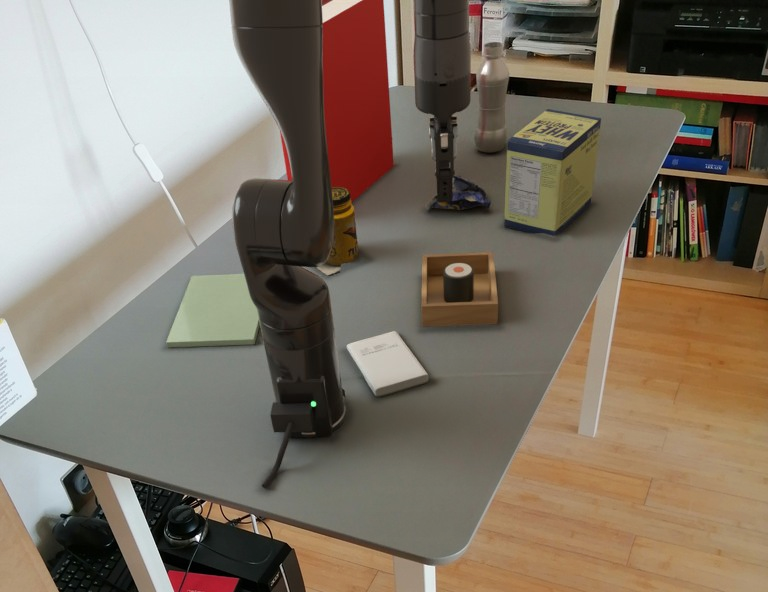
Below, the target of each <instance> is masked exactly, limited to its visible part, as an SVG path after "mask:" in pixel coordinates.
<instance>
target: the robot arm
mask: <svg viewBox="0 0 768 592" xmlns="http://www.w3.org/2000/svg"><path fill="white" fill-rule="evenodd" d="M228 2H229V13H230V25H231V26H230V27H231V35H232V40H233V41H232V42H233V46H234V49H235V51H236V55H237V57H238V59H239V61H240V63H241V65H242V67H243V69H244V71H245V73H246V74H247V77H248V78H249V81H251V83H252V84H253V86H254V88H255V89H256V92H257V93H258V95H259V96H260V98H261V100H262V101H263V103H264V104H265V106H266V108H267V109H268V110H269V112H270V114H271V116H272V118H273V119H274V121H275V123H276V125H277V127H278V129H279V133H280V132H281V134H282V137H283V140H284V143H285V146H286V149H287V153H288V158H289V163H290V168H291V175H292V181H291V180H288V179H274V178H273V179H272V178H256V177H255V178H249V179H246V180H244V181H243V182H241V184H239V186H238V188H237V189H236V191H235V194H234V197H233V200H232V201H233V202H232V207H231V208H232V209H231V221H232V222H231V225H232V231H233V237H234V242H235V246H236V251H237V254H238V258H239V261H240V264H241V267H242V271H243V272H242V273H243V274H244V275H245V279H246V283H247V287H248V291H249V295H250V298H251V300H252V302H253V304H254V305H255V307H256V308H257V313H258V317H259V322H260V326H259V328H260V331H261V336H262V341H263V346H264V351H265V356H266V360H267V365H268V370H269V375H270V380H271V384H272V389H273V395H274V399H275V402H272V405H271V409H270V414H269V415H270V421H271V425H272V430H273V433H284V435H283V438H282V441H281V444H280V447H279V450H278V452H277V456H276V459H275V462H274V465H273V467H272V469H271V471H270V472H269V474H268V476H267V477H266V478H265V479H264V481H263V482H262V483H261V487H262V488H263V489H267V488H268V487H269V486H270V484H271V483H272V482H273V480H274V479H275V478H276V476H277V474H278V472H279V470H280V468H281V466H282V463H283V459H284V456H285V454H286V450H287V447H288V444H289V441H290V439H292V438H323V437H325V438H326V437H332V436H333V432H334V431H336V430H337V428H339V427H340V426H341V425H342V424H343V422H344V421H345V419H346V415H347V408H346V403H345V399H344V398H347V396H346V390H345V389H344V388H343V385H342V377H341V370H340V362H339V354H338V347H337V341H336V332H335V326H334V325H335V323H334V316H333V307H332V300H331V294H330V289H329V286H328V284H327V282H326V281H325V280H324V279H323V278H322V277H320V276H319V274H316V273H314V272H312V271H310V270H308V269H307V268H317V267H319V266H321V265H323V264H324V263H325V262H326V261H327V259H328V258H329V255H330V253H331V249H332V245H333V237H334V209H333V197H332V187H331V177H330V168H329V158H328V149H327V139H326V128H325V114H324V92H323V26H322V25H323V21H322V0H228ZM413 27H414V30H413V31H414V38H413V39H414V40H413V41H414V42H413V50H412V51H413V52H412V53H413V78H414V80H413V81H414V100H415V101H414V102H415V107H416V109H417V110H418V111H419V112H421V113H422V114H426V115H432V116H431V117H430V116H429V117H428V127H429V129H428V131H429V134H428V135H429V139H430V140H431V159H432V160H433V161H434V162H435V170H434V176H435V180H436V195H437V200H438V202H451V201H452V200H453V191H454V190H453V189H454V187H453V178H454V175H455V176H456V172H455V171H456V170H455V167H454V164H455V163H454V162H455V161H454V160H455V159H456V158H457V153H458V152H457V137H458V135H459V127H458V126H459V125H458V124H459V123H458V115H455V114H456V113H460V112H463V111H465V110H466V109H467V108H469V106H470V104H471V91H472V89H471V85H472V84H471V83H472V81H471V78H472V76H471V75H472V74H471V73H472V72H471V69H472V65H471V64H472V51H471V49H472V48H471V40H470V38H471V37H470V0H413Z"/></svg>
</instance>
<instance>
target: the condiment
mask: <svg viewBox="0 0 768 592" xmlns="http://www.w3.org/2000/svg"><path fill="white" fill-rule="evenodd" d="M332 197H333V209H334V237H333V245H332V249H331V253H330V255H329V258H328V259H327V261H326V262H325V263H324V264H323V265H321V266H319V267H316V269H317V270H318V271H320V272H321V273H323V274H324V275H325V276H330V275H332V274H335V273H337V272H340V271H341V268H342V264H346V263H350V262H352V261H354V260H355V259H357V257H358V255H359V244H358V243H359V242H358V241H359V240H358V234H357V224H356V214H355V207H354V205H353V204H352V203H353V201H352V202H351V194H350V192H349V191H348V190H347V189H346V188H342V187H332Z"/></svg>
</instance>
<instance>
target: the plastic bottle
mask: <svg viewBox="0 0 768 592" xmlns="http://www.w3.org/2000/svg"><path fill="white" fill-rule="evenodd" d="M503 56H504V44H503V43H502V42H499V41H490V42H487V43H484V44H483V52H482V57H483V60H482V61H481V63H480V65H479V67H478V69H477V71H476V74H475V77H476V78H475V79H476V88H477V102H478V106H477V107H478V112H477V120H476V121H477V122H476V128H475V132H474V133H475V134H474V143H475V147H476V148H477V150H478V151H480V152H482V153H496V152H500V151H501V150H503V149H504V147H505V146H506V144H507V139H508V135H507V133H508V132H507V126H506V101H507V92H508V87H509V81H510V70H509V67H508V65H507V63H506V62H505V60H504V59H503Z"/></svg>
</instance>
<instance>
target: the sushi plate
mask: <svg viewBox="0 0 768 592" xmlns="http://www.w3.org/2000/svg"><path fill="white" fill-rule="evenodd" d="M186 287H187V288H186V289H185V293H184V295H183V298H182V300H181V302H180V305H179V308H178V310H177V313H176V315H175V318H174V321H173V322H172V326H171V328H170V331H169V333H168V336H167V339H166V341H165V344H166V347H167V348H190V347H193V348H194V347H219V346H220V347H221V346H247V345H249V346H251V345H255V344H256V341H257V337H258V332H259V330H260V322H259V317H258V313H257V308H256V307H255V305H254V304H253V302H252V300H251V298H250V295H249V291H248V287H247V283H246V279H245V275H244V273H232V274H231V273H227V274H203V275H201V274H200V275H191V277H190V280H189V282H188V285H187V286H186Z"/></svg>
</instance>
